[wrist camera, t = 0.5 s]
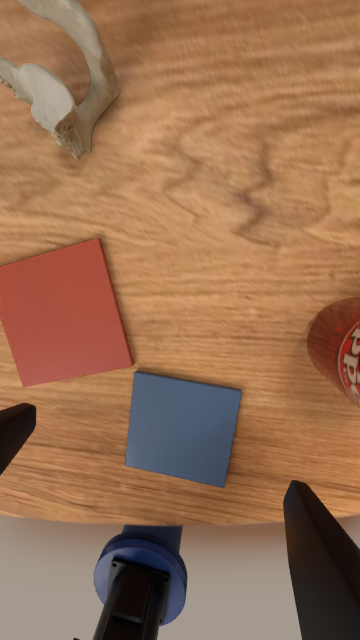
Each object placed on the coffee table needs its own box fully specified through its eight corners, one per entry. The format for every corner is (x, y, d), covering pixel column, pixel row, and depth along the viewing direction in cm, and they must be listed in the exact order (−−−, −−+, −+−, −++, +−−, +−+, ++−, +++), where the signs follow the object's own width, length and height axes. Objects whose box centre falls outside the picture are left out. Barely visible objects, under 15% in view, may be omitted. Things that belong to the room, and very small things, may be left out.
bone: (24, 175, 21) (-109, -16, 12) (42, 126, 24) (-57, -64, 15) (124, 171, 21) (65, -34, 11) (132, 121, 23) (89, -80, 14)
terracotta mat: (134, 364, 24) (132, 366, 24) (26, 385, 26) (22, 387, 26) (100, 238, 23) (97, 237, 22) (-11, 270, 25) (-16, 270, 24)
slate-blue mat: (224, 484, 25) (224, 488, 24) (126, 462, 26) (124, 465, 26) (241, 389, 23) (241, 391, 23) (136, 370, 24) (134, 372, 24)
